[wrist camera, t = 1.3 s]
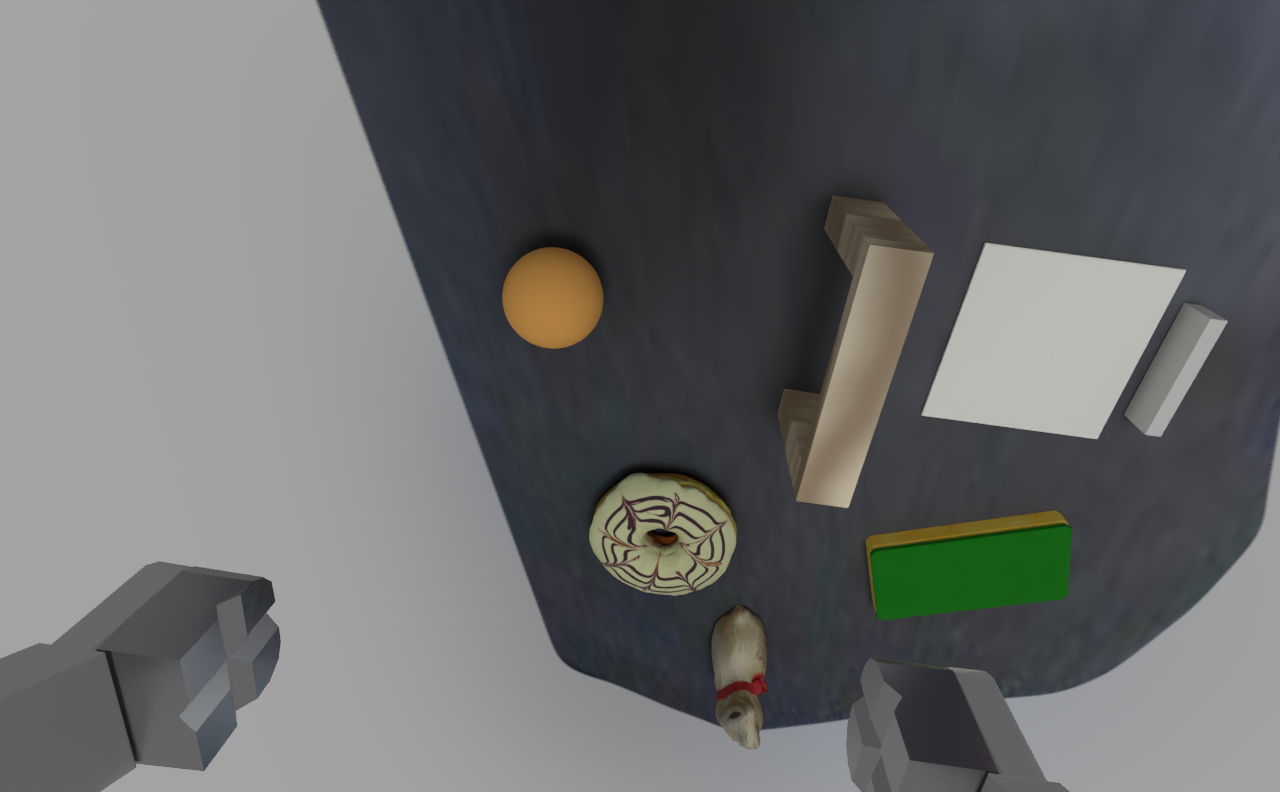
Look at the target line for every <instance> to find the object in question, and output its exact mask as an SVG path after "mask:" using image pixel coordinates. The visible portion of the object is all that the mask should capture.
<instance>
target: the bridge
mask: <svg viewBox="0 0 1280 792" xmlns="http://www.w3.org/2000/svg"><path fill="white" fill-rule="evenodd" d="M824 230H825V231H826V233H827V235H828V236H829V238H830V240H831V241H832V243H833V245H834V246H835V248H836V250H837V251H838V253H839V255H840V256H841V258H842V260H843V261H844V263H845V265H846V266H847V268H848V270H849V271H850V273H851V275H852V276H853V279H852V282H851V286H850V289H849V293H848V296H847V300H846V303H845V307H844V311H843V314H842V318H841V321H840V325H839V328H838V332H837V335H836V339H835V342H834V346H833V349H832V353H831V357H830V360H829V364H828V367H827V371H826V374H825V378H824V381H823V385H822V388H821V392H820V394H818V393H811V392H804V391H796V390H789V389H784V390H783V394H782V398H781V402H780V406H779V410H778V419H779V423H780V428H781V433H782V437H783V442H784V447H785V452H786V456H787V461H788V466H789V470H790V475H791V480H792V485H793V489H794V494H795V499H796V501H800V502H807V503H815V504H822V505H830V506H837V507H845V508H848V507H849V504H850V501H851V499H852V496H853V493H854V490H855V487H856V484H857V481H858V478H859V475H860V472H861V469H862V466H863V463H864V460H865V457H866V454H867V451H868V448H869V445H870V442H871V439H872V436H873V433H874V430H875V427H876V424H877V421H878V418H879V415H880V413H881V410H882V407H883V404H884V401H885V398H886V395H887V392H888V389H889V386H890V383H891V380H892V377H893V374H894V371H895V368H896V365H897V362H898V359H899V356H900V353H901V350H902V347H903V344H904V341H905V338H906V335H907V332H908V330H909V327H910V324H911V321H912V318H913V315H914V312H915V309H916V306H917V303H918V300H919V297H920V294H921V291H922V288H923V285H924V282H925V279H926V276H927V273H928V270H929V267H930V264H931V261H932V258H933V255H934V253H933V252H932V251H931V250H930V249H929V248H928V247H927V246H926V245H925V244H924V243H923V242H922V241H921V240H920V239H919V238H918V237H917V236H916V235H915V234H914V233H913V232H912V231H911V230H910V229H909V228H908V227H907V226H906V224H905V223H904V222H903V221H902V220H901V219H900V218H899V217H898V216H897V215H896V214H895V213H894V212H893V211H892V210H891V209H890V208H889V207H888V206H887V205H886V204H885V203H884V202H878V201H870V200H863V199H855V198H848V197H841V196H832V200H831V204H830V208H829V212H828V216H827V220H826V224H825V228H824Z"/></svg>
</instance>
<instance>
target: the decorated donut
mask: <svg viewBox="0 0 1280 792" xmlns="http://www.w3.org/2000/svg"><path fill="white" fill-rule="evenodd" d="M657 528H661V529H664V530H668V531H670V532H674V533H676V534H675V535H673V536H669V537H664V536H660V535H657V534H654V533H652V532H651V531H650V530H653V529H657ZM736 530H737V529H736V524H735V522H734V519H733V517H732V516H731V511H730V509H729V508H728V506H727V505H726V504H725V503H724V502H723V501H722V499H720V498H719V496H718V495H717V494H716V493H715V492H713V491H712V490H711V489H710V488H709V487H708V486H706V485H705V484H703V483H701V482H700V481H697V480H695V479H693V478H691V477H688V476H685V475H680V474H673V473H666V474H665V473H663V474H658V473H652V474H645V473H634V474H631V475H629V476H627V477H626V478H624V479H623V480H622V481H621V482H620V483H618V484H616V485H615V486H614V487H613V488H611V489H610V490H609V491H608V492H607V493H606V494H605V495H604V496H603V497H602V498H601V500H600V501H599V503H598V504H597V506H596V508H595V513H594V516H593V521H592V524H591V527H590V532H589V540H590V544H591V547H592V549H593V551H594V553H595V555H596V556H597V557H598V559H599V560H600V561H601V563H602V564H603V565H604V567H605V568H606V569H607V570H608V571H609V572H610V573H611V574H612V575H613V576H615V577H616V578H617V579H618V580H620V581H622V582H623V583H626V584H627V585H630V586H632V587H634V588H636V589H638V590H641V591H643V592H647V593H655V594H665V595H680V594H687V593H689V592H693V591H697V590H700V589H702V588H704V587H706V586H707V585H710V584H712V583H714V582H715V581H716V580H717V579H718V578H719V577H720V576H721V575H722V574H723V573H724V572H725V570H726V568H727V566H728V564H729V562H730V559H731V556H732V554H733V551H734V549H735V546H736V533H737V531H736Z"/></svg>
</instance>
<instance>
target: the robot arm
mask: <svg viewBox="0 0 1280 792" xmlns="http://www.w3.org/2000/svg"><path fill="white" fill-rule="evenodd" d="M274 602H275V598H274V592H273V587H272V582H271V581H269V580H267V579H265V578H263V577H259V576H252V575H246V574H239V573H233V572H227V571H221V570H214V569H207V568H201V567H195V566H194V567H189V566H183V565H177V564H171V563H165V562H156V563H152V564H149V565H146V566H144V567H143V568H142V569H141V570H140V571H138V572H137V573H136V574H135V575H134V576H133V577H131V578H130V579H129V580H128V581H127V582H125V583H124V584H123V585H122V586H121V587H119V588H118V589H117V590H116V591H115V592H114V593H113V594H111V595H110V596H109V597H108V598H106V599H105V600H104V601H103V602H102V603H101V604H99V605H98V606H97V607H96V608H94V609H93V610H92V611H91V612H90V613H88V614H87V615H86V616H85V617H84V618H82V619H81V620H80V621H79V622H78V623H77V624H75V625H74V626H73V627H72V628H71V629H69V630H68V631H67V632H66V633H65V634H64V635H62V636H61V637H60V638H59V639H58V640H56V641H55V642H54V643H53V644H52V645H49V644H41V643H39V644H36V645H33V646H31V647H28V648H26V649H23V650H21V651H18V652H16V653H13V654H11V655H8V656H6V657H3V658H1V659H0V792H100V791H102V790H103V789H105V788H106V787H108V786H109V785H110V784H112V783H114V782H115V781H116V780H118V779H120V778H121V777H122V776H124V775H125V774H127V773H128V772H130V771H132V770H133V769H134V768H136V764H146V765H155V766H164V767H174V768H182V769H191V770H200V771H204V770H205V769H206V767H207V766H208V765H209V763H210V762H211V761H212V759H213V758H214V757H215V755H216V754H217V753H218V751H219V750H220V749H221V747H222V746H223V745H224V743H225V742H226V740H227V739H228V738H229V736H230V735H231V734H232V732H233V731H234V730H235V728H236V727H237V721H236V710H238V709H239V708H241V707H243V706H245V705H247V704H248V703H250V702H252V701H254V700H255V699H257V698H258V697H259V695H260V694H261V693H262V691H263V690H264V688H265V687H266V685H267V684H268V683H269V681H270V679H271V676H272V674H273V671H274V669H275V666H276V664H277V661H278V659H279V650H280V642H281V641H280V633H279V627H278V626H277V625H276V624H275V622H274V621H273V620H272V619H271V618H270V617H269V615H268V614H267V613H266V612H267V611H268V610H269V608H270V607H271V606H272V605H273V604H274ZM860 681H861V684H862V688H863V692H864V695H865V696H864V697H863V698H861V699H860V700H859V701H857V702H856V703H854V704H853V705H852V709H851V713H850V717H849V721H848V727H847V729H848V730H847V744H846V745H847V756H848V765H849V769H850V774H851V779H852V781H853V782H854V783H855V785H856V786H857V787H858V788H859V789H860V790H861V791H862V792H1069V791H1068V790H1067V789H1066V788H1065V787H1063V786H1062V785H1061V784H1060V783H1055V782H1048V781H1047V780H1046V778H1045V776H1044V774H1043V772H1042V771H1041V768H1040V767H1039V765H1038V763H1037V761H1036V759H1035V757H1034V755H1033V753H1032V751H1031V750H1030V747H1029V746H1028V744H1027V742H1026V740H1025V738H1024V736H1023V734H1022V732H1021V730H1020V728H1019V726H1018V724H1017V722H1016V720H1015V719H1014V717H1013V715H1012V713H1011V711H1010V709H1009V707H1008V705H1007V703H1006V701H1005V700H1004V697H1003V696H1002V694H1001V692H1000V690H999V688H998V686H997V684H996V682H995V680H994V678H993V677H992V676H991V675H989V674H988V673H987V672H986V671H979V670H970V669H962V668H953V667H946V668H944V667H940V666H932V665H924V664H916V663H908V662H900V661H892V660H884V659H876V658H870V659H869V661H868V662H867V663H866V665H865V667H864V670H863V673H862V676H861V679H860ZM135 763H136V764H135Z"/></svg>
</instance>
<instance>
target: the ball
mask: <svg viewBox="0 0 1280 792" xmlns="http://www.w3.org/2000/svg"><path fill="white" fill-rule="evenodd" d="M502 301H503V308H504V311H505V314H506V317H507V319H508V321H509V323H510V325H511V326H512V328H513V329H514V330H515V331H516V332H517V333H518V334H519V335H520V336H521V337H522V338H524V339H525V340H526V341H528V342H530V343H532V344H534V345H537V346H540V347H544V348H564V347H568V346H571V345H573V344H575V343H577V342H579V341H581V340H582V339H584V338H585V337H586V336H587V335H588V334H589V333H590V332H591V331H592V330H593V329H594V327H595V326H596V324H597V322H598V320H599V318H600V316H601V312H602V308H603V289H602V285H601V282H600V279H599V277H598V275H597V273H596V271H595V270H594V268H593V267H592V266H591V265H590V264H589V263H588V262H587V261H586V260H585V259H584V258H583V257H581V256H580V255H578V254H577V253H575V252H572V251H570V250H567V249H563V248H557V247H546V248H540V249H537V250H534V251H532V252H530V253H528V254H526V255H524V256H523V257H522V258H520V259H519V260H518V261H517V262H516V263H515V264H514V265H513V267H512V268H511V269H510V271H509V273H508V275H507V277H506V280H505V282H504V286H503V294H502Z"/></svg>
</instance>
